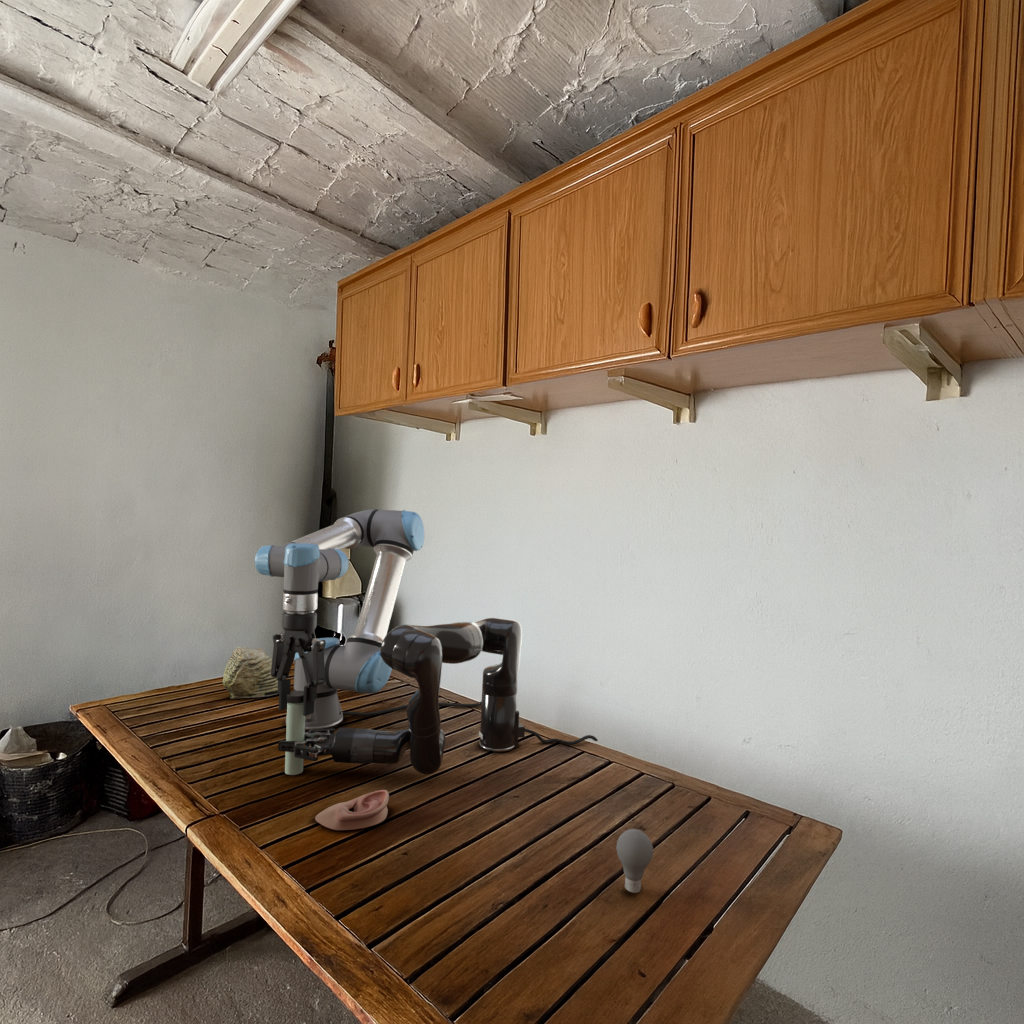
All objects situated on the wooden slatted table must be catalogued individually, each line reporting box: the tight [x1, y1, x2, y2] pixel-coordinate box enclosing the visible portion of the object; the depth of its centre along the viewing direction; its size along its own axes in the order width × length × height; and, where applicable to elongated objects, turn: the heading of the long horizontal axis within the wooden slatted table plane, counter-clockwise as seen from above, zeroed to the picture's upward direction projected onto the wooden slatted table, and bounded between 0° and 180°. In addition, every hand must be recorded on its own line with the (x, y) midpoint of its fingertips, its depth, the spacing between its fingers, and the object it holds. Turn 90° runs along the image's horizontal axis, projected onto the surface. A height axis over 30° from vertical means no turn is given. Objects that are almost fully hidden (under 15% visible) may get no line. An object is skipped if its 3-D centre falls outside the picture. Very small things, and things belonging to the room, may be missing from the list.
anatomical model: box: [314, 789, 390, 831], centre depth 126 cm, size 13×4×12 cm
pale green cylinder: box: [284, 703, 305, 776], centre depth 145 cm, size 4×4×17 cm
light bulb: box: [615, 828, 654, 894], centre depth 106 cm, size 6×6×10 cm
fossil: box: [222, 646, 279, 699], centre depth 198 cm, size 9×18×15 cm, turn 132°
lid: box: [287, 690, 304, 704], centre depth 145 cm, size 4×4×2 cm
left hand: (296, 711), depth 145 cm, fingers open, 6 cm apart
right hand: (283, 741), depth 145 cm, fingers closed on pale green cylinder, 4 cm apart
